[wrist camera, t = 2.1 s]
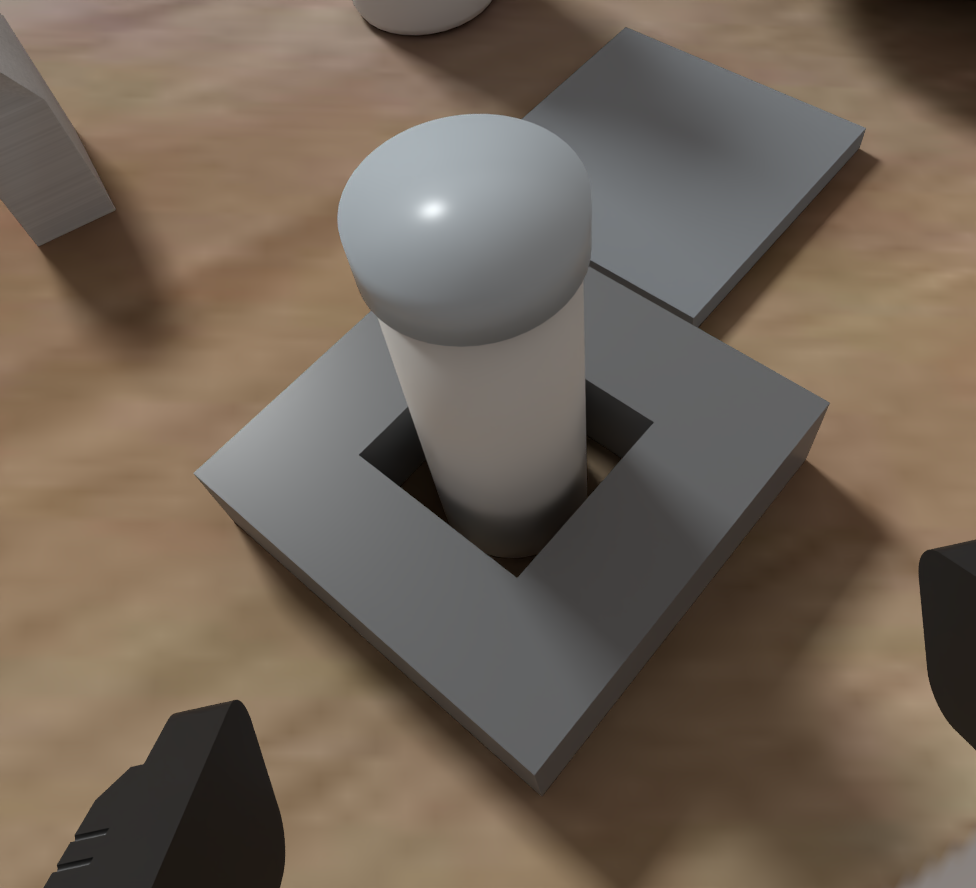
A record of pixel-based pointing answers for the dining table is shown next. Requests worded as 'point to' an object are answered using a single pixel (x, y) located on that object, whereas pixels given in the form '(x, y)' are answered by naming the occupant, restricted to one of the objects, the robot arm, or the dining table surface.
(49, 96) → the white paper packet
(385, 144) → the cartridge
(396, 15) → the milk bottle
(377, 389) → the housing
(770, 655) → the dining table surface
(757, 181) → the mat
